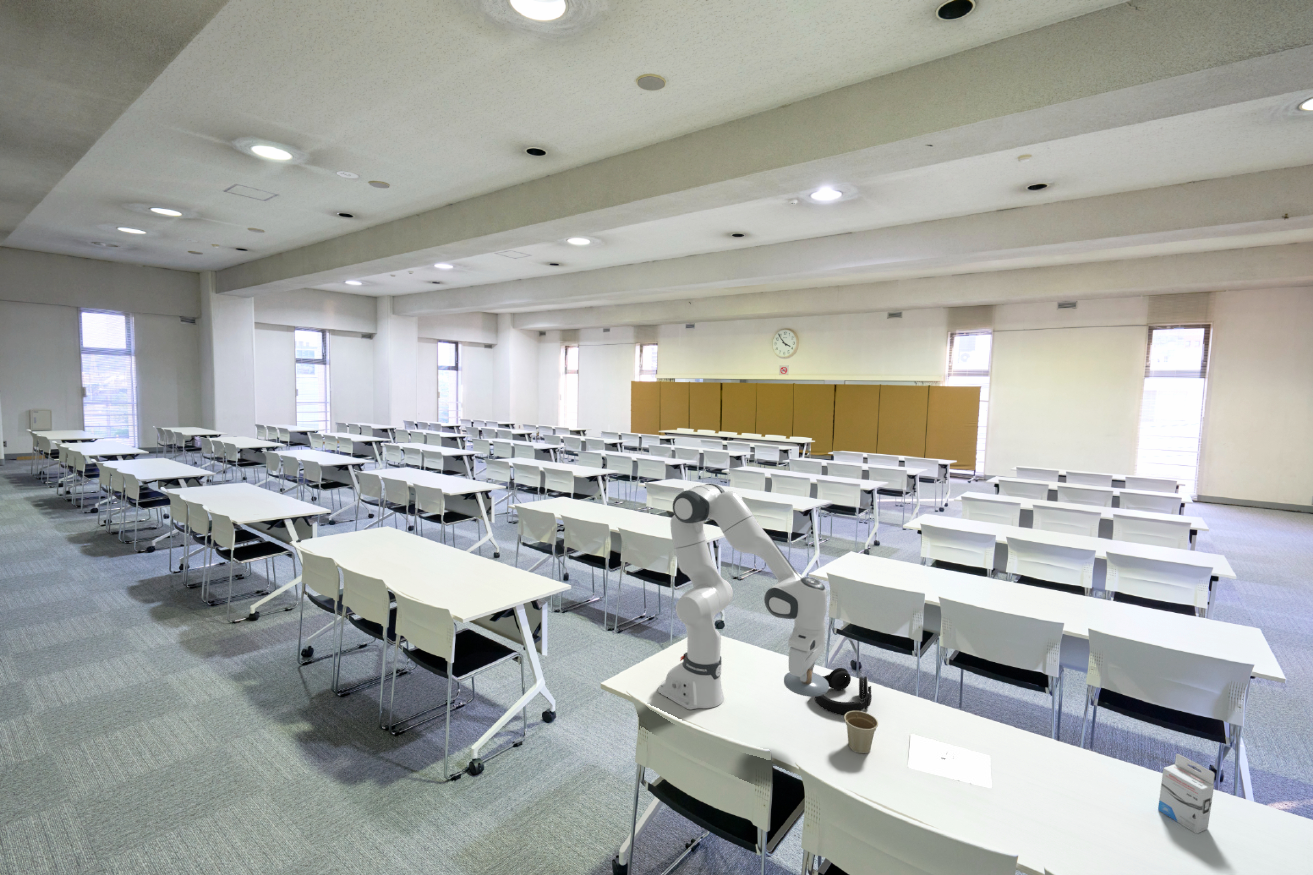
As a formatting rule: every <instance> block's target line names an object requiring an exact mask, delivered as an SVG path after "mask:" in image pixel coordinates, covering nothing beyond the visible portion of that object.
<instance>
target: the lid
mask: <svg viewBox="0 0 1313 875" xmlns="http://www.w3.org/2000/svg"><path fill="white" fill-rule="evenodd" d="M806 673H807V675H808V677H807V681H806V682H802V681H800V677H798V676H795V675H792V674H790V672H787V673H786V674H785V675H784V677H783V684H784V686H785V687H786V689H787V690H788V691H790V692H792V693H794V694H797V695H800V696H805V697H809V698H810V697H811V698H812V697H813V698H815V697H817V696H822V695H826V694H827V693H828V692H829V688H830V687H829V683H828V681H827V680H826V679H825V678H824V677H822V675H820V674H818V673H815V672H813V674H812V670H811V669H808V670H807V672H806Z"/></svg>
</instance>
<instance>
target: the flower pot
mask: <svg viewBox="0 0 1313 875" xmlns="http://www.w3.org/2000/svg"><path fill="white" fill-rule="evenodd" d="M843 717H844V718H843V719H844V721H845V725H846V729H847V730H846V732H847V742H848V744H847V745H848V747H849V748H850V749H851V751H853V752H855V753H858V754H864V753H866V754H867V753H870V751H871V750H872V744H873V740H874V735H875V731H876V730H877V728H878V726H879V721H878V719H877V718H876V717H875V716H874V715H872V714H870V713H868V712H864V711H863V710H861V711H849V712H847V713H846V714H845V716H843Z"/></svg>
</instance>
